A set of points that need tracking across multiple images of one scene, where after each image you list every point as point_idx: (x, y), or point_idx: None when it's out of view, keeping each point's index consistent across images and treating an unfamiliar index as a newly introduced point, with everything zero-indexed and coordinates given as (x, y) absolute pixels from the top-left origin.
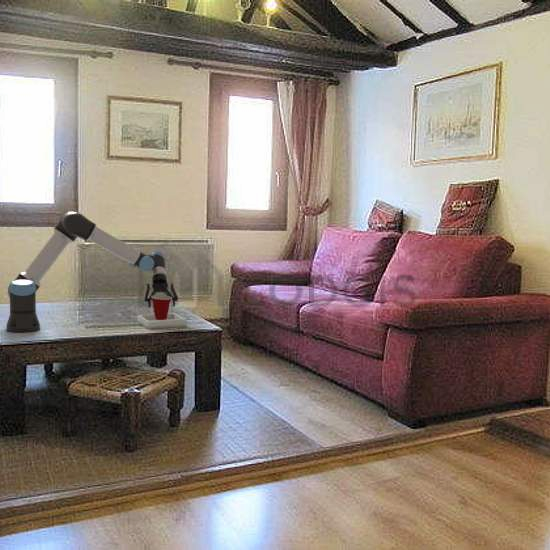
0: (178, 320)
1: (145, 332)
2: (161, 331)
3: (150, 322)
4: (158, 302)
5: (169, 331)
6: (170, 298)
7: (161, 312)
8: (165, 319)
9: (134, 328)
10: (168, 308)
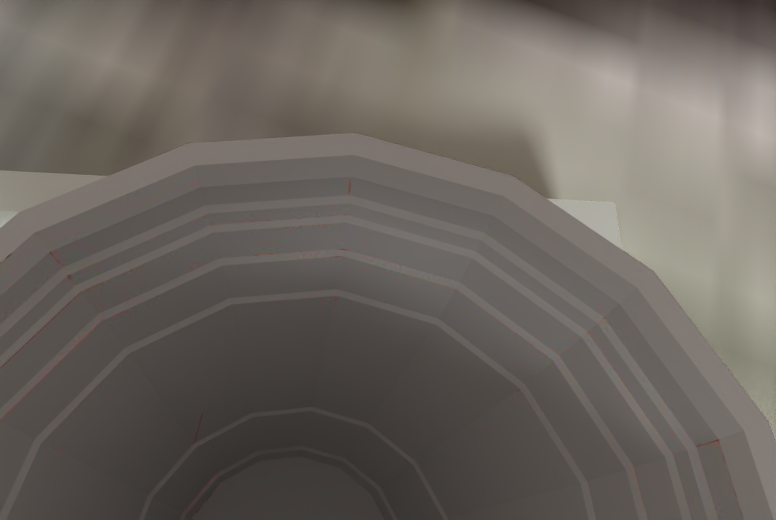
0: (79, 178)
1: (621, 76)
2: (430, 56)
3: (569, 204)
4: (484, 315)
5: (336, 21)
6: (9, 235)
7: (339, 398)
8: (227, 473)
9: (735, 347)
10: (122, 450)
